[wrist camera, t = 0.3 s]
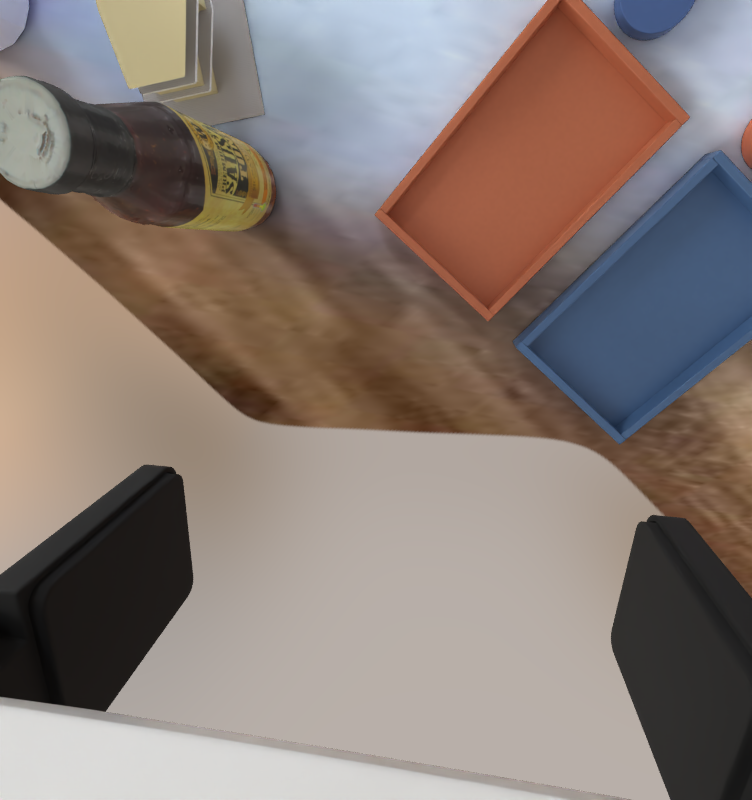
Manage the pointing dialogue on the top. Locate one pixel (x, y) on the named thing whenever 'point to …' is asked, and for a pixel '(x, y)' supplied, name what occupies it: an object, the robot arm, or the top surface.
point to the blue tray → (655, 303)
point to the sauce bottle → (131, 159)
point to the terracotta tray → (531, 156)
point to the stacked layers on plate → (187, 55)
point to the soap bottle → (12, 20)
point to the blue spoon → (650, 16)
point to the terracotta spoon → (747, 145)
